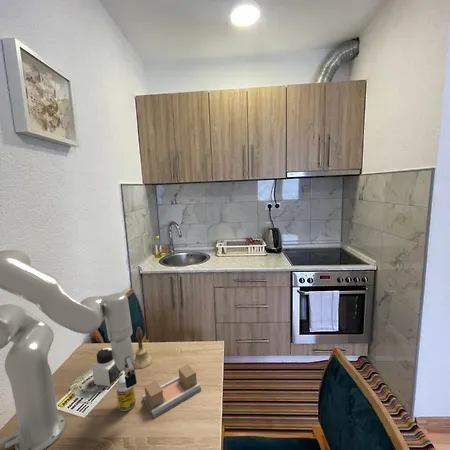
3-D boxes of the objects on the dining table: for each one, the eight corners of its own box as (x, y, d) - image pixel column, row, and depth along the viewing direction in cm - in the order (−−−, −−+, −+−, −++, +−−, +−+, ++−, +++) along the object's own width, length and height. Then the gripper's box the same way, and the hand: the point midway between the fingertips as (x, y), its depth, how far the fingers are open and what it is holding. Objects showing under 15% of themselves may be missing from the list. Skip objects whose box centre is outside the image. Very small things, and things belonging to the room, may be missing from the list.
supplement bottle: (117, 414, 85) (114, 386, 84) (119, 401, 90) (116, 374, 89) (135, 409, 86) (132, 382, 85) (136, 397, 92) (133, 370, 90)
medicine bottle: (110, 386, 97) (107, 357, 96) (94, 384, 99) (90, 356, 97) (121, 373, 104) (118, 346, 103) (106, 371, 106) (102, 344, 104)
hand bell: (128, 367, 108) (124, 332, 105) (139, 355, 116) (135, 321, 113) (145, 370, 106) (142, 333, 104) (155, 357, 114) (152, 323, 111)
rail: (153, 418, 83) (151, 401, 82) (142, 399, 91) (141, 383, 90) (201, 390, 93) (200, 374, 93) (187, 375, 101) (186, 361, 100)
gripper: (101, 325, 90) (109, 369, 92) (115, 347, 76) (123, 399, 78) (123, 317, 94) (130, 360, 96) (140, 337, 80) (147, 386, 83)
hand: (127, 377), depth 87 cm, fingers open, 9 cm apart
